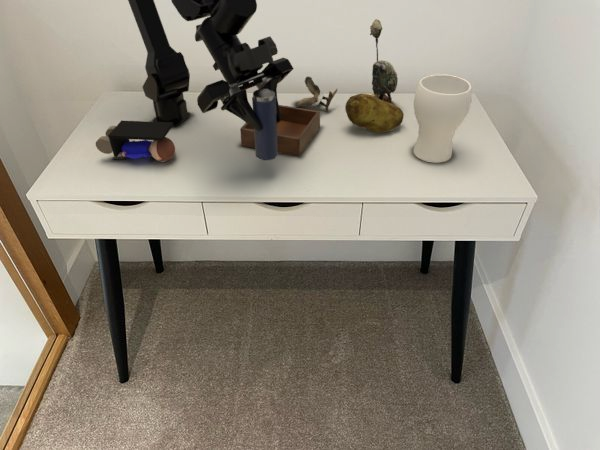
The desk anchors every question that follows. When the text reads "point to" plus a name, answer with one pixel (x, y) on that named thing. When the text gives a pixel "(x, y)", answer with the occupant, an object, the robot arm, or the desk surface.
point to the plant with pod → (382, 72)
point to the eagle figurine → (315, 95)
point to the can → (265, 124)
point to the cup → (439, 114)
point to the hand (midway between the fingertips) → (270, 126)
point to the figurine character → (133, 149)
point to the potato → (373, 113)
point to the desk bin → (289, 130)
